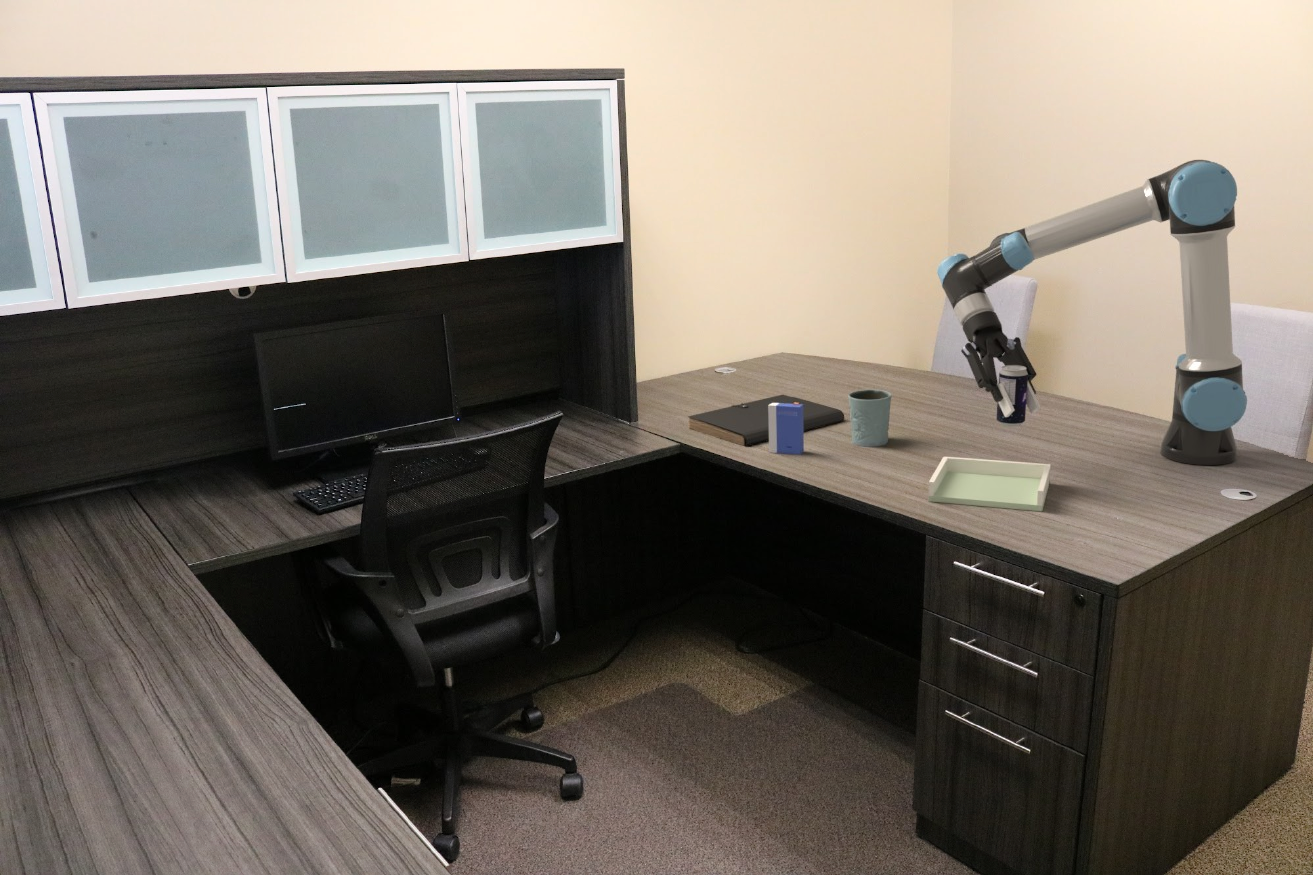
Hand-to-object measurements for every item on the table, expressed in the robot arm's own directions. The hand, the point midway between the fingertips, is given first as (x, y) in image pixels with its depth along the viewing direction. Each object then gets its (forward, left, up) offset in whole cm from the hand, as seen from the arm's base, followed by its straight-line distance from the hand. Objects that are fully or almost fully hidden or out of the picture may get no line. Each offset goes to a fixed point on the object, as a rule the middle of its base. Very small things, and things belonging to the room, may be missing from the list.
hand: (1022, 411), depth 222 cm
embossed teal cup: (+37, -26, -17) cm, 49 cm away
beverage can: (+3, -3, -4) cm, 5 cm away
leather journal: (+67, -35, -17) cm, 77 cm away
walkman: (+54, -13, -17) cm, 58 cm away
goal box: (+5, +4, -17) cm, 18 cm away
